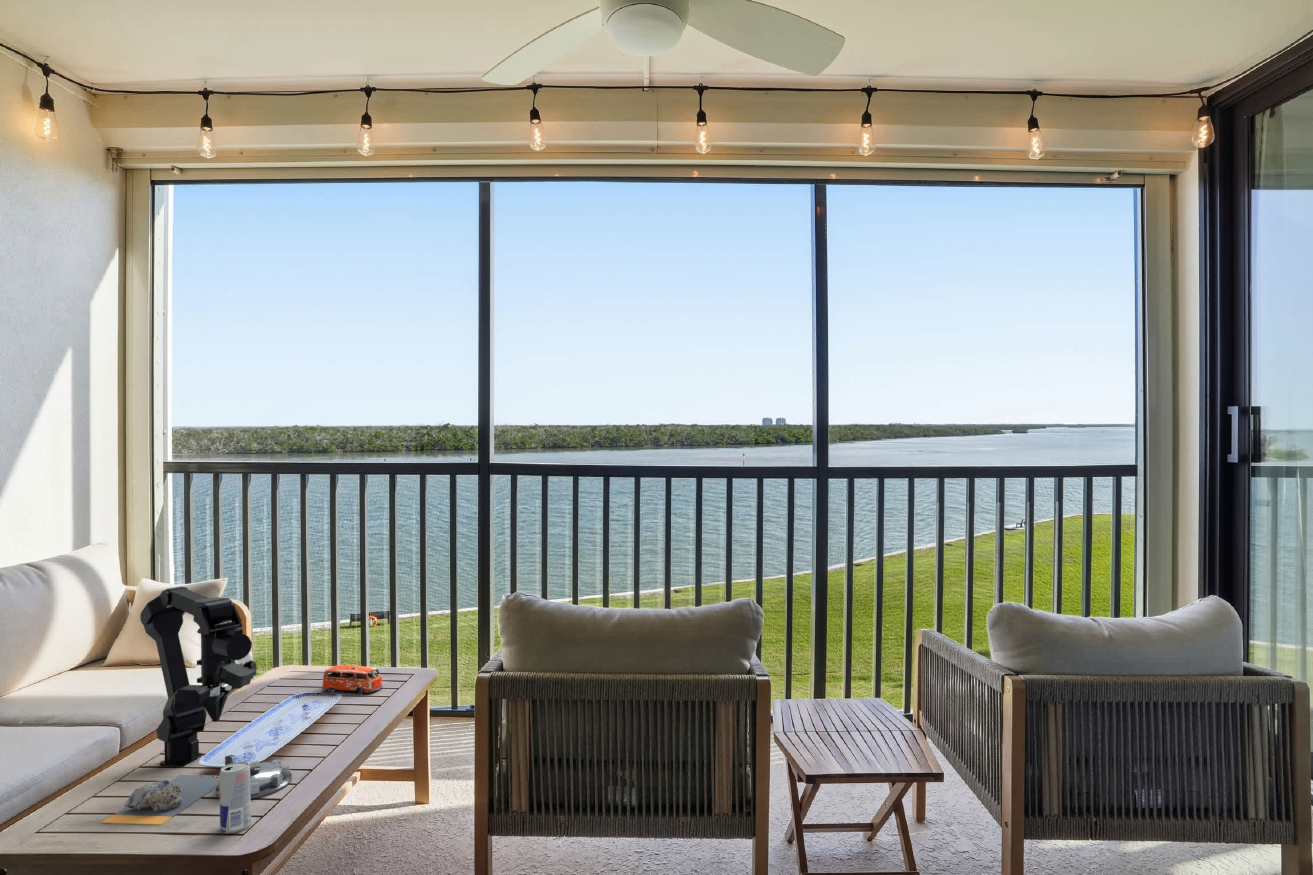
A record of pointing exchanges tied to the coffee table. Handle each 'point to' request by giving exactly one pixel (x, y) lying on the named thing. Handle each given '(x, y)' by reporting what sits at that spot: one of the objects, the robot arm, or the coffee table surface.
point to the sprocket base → (267, 790)
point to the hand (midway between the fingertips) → (216, 720)
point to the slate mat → (190, 794)
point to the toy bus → (352, 679)
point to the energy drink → (235, 797)
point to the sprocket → (263, 774)
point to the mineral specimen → (155, 796)
